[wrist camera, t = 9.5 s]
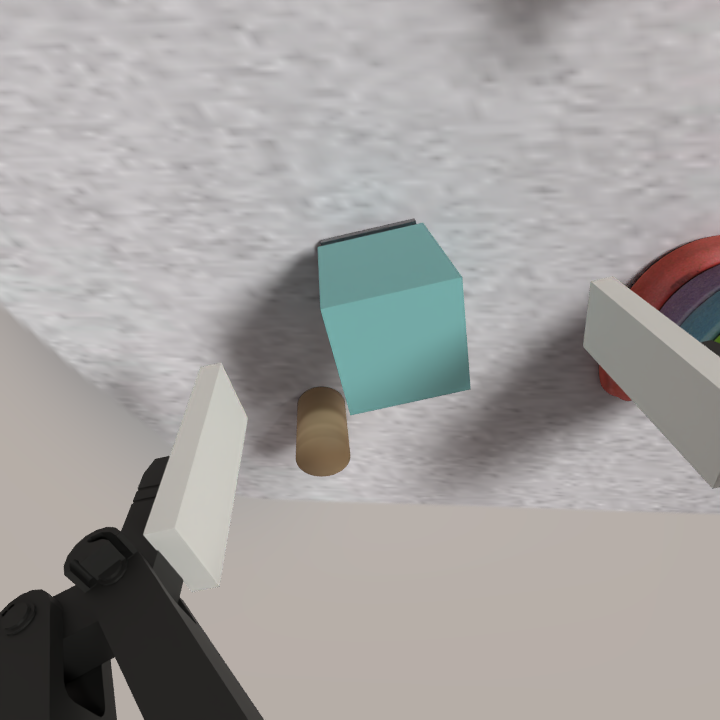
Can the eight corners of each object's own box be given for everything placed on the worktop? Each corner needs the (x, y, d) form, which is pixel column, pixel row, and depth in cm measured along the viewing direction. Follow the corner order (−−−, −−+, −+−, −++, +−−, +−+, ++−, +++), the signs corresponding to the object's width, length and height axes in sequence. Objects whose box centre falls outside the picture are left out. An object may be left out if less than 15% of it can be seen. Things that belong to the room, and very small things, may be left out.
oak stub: (291, 392, 27) (289, 444, 24) (339, 382, 27) (343, 432, 24) (304, 427, 29) (304, 480, 25) (349, 418, 29) (355, 470, 25)
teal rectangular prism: (317, 247, 21) (320, 309, 16) (422, 222, 21) (462, 277, 16) (341, 336, 24) (350, 415, 19) (434, 315, 24) (470, 389, 19)
